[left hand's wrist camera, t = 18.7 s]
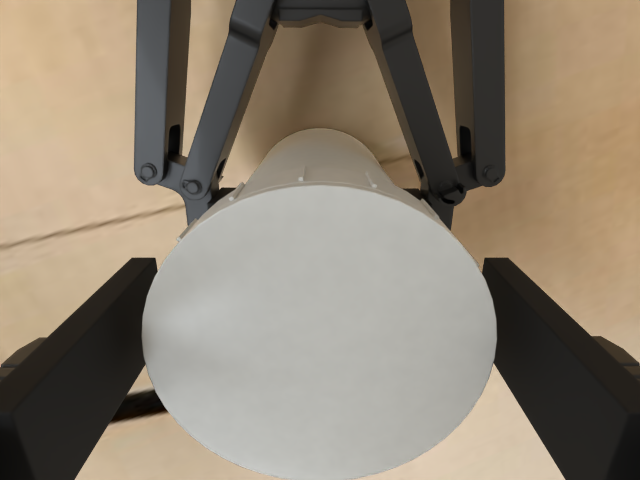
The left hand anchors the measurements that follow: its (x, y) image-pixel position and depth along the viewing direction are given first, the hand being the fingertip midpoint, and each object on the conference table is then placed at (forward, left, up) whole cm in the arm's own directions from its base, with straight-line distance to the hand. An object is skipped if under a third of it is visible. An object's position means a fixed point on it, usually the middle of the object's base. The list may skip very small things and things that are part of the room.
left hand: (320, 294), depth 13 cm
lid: (0, 0, +3) cm, 3 cm away
